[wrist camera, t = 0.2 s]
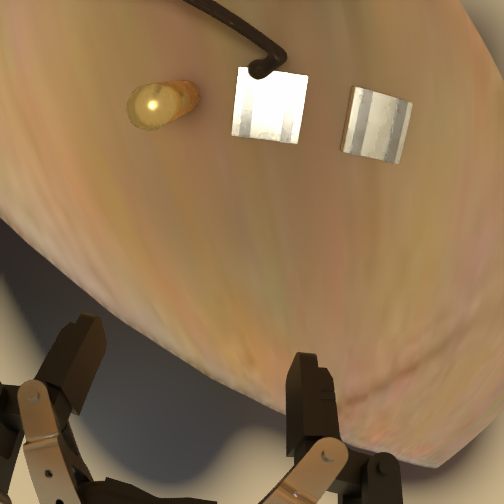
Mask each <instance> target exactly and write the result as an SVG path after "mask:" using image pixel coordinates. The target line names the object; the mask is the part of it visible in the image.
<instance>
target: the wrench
mask: <svg viewBox="0 0 504 504" xmlns="http://www.w3.org/2000/svg"><path fill="white" fill-rule="evenodd" d="M183 1H185V2H187V3H189V4H191V5H193V6H194V7H196V8H198V9H200V10H202V11H203V12H205V13H207V14H209V15H210V16H212V17H214V18H216V19H217V20H219V21H221V22H222V23H224V24H226V25H227V26H229V27H231V28H232V29H234V30H236V31H237V32H239V33H240V34H242V35H243V36H245V37H246V38H248V39H249V40H251V41H252V42H254V43H255V44H256V45H258V46H259V47H261V48H262V49H263V50H265V51H266V52H267V53H269V55H268V56H267V57H266V58H265V59H263V60H254V61H252V62H251V63H250V64H249V66H248V73H249V75H250V76H251V77H252V78H254V79H256V80H261V79H264V78H266V77H267V76H268V75H270V74H271V73H272V72H273V71H274V70H275V69H277V68H278V67H279V66H281V65H282V64H283V63H284V62H286V60H287V54H286V52H285V51H284V50H283V49H282V48H281V47H280V46H279V45H277V44H276V43H274V42H273V41H272V40H270V39H269V38H268V37H266V36H265V35H264V34H262V33H261V32H260V31H258V30H257V29H255V28H254V27H253V26H251V25H250V24H248V23H247V22H245V21H244V20H242V19H241V18H239V17H238V16H237V15H235V14H233V13H232V12H230V11H229V10H227V9H226V8H224V7H223V6H221V5H220V4H218V3H216V2H215V1H213V0H183Z"/></svg>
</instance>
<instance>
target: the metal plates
mask: <svg viewBox="0 0 504 504" xmlns="http://www.w3.org/2000/svg"><path fill="white" fill-rule="evenodd" d="M307 80H308V76H302V75H297V74H291V73H284V72H277V71H273V72H272V73H271V74H270V75H268V76H267V77H266V78H264V79H261V80H256V79H254V78H252V77H251V76H250V75H249V73H248V68H243V67H239V72H238V81H237V89H236V98H235V107H234V116H233V125H232V134H231V135H232V136H239V137H245V138H249V137H251V138H260V139H268V140H275V141H280V142H285V143H296V144H297V143H298V137H299V131H300V125H301V119H302V112H303V106H304V100H305V93H306V87H307ZM412 104H413V103H410V102H407V101H404V100H401V99H397V98H394V97H391V96H388V95H384V94H381V93H377V92H374V91H370V90H367V89H362V88H359V87H354V86H352V89H351V95H350V100H349V106H348V111H347V117H346V122H345V127H344V132H343V137H342V142H341V147H340V149H341V150H342V151H343V152H347V153H350V154H354V155H358V156H360V155H361V156H366V157H371V158H375V159H380V160H384V161H386V162H390V163H396V164H399V161H400V157H401V153H402V149H403V145H404V141H405V137H406V132H407V128H408V123H409V119H410V114H411V109H412Z"/></svg>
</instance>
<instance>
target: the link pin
mask: <svg viewBox="0 0 504 504" xmlns="http://www.w3.org/2000/svg"><path fill="white" fill-rule="evenodd" d="M199 97H200V95H199V91H198V89H197V87H196V86H195V85H194V84H193V83H191V82H189V81H173V82H162V83H153V84H145V85H142V86H140V87H138V88H137V89H135V90H134V91H133V92H132V94H131V95H130V97H129V99H128V102H127V115H128V117H129V120H130V121H131V123H132V124H133V125H134V126H136V127H137V128H139V129H141V130H146V131H151V130H156V129H158V128H160V127H162V126H164V125H165V124H167V123H169V122H171V121H173V120H175V119H176V118H178V117H180V116H182V115H184V114H186V113H188V112H190V111H191V110H193V109H194V108H195V107H196V106H197V104H198V102H199Z"/></svg>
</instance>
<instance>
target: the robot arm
mask: <svg viewBox="0 0 504 504" xmlns="http://www.w3.org/2000/svg"><path fill="white" fill-rule="evenodd" d="M105 351H106V337H105V334H104V330H103V326H102V322H101V319H100V317H98V316H94V315H90V314H86V313H82V314H81V315H80V316H79V318H78V320H77V322H76V323H72V322H70V323H69V324H68V325H66V326H65V327H64V328H63V329H62V330H61V331H60V333H59V335H58V336H57V338H56V341H55V342H54V343H53V345H52V348H51V349H50V351H49V352H48V354H47V356H46V358H45V360H44V362H43V364H42V365H41V367H40V369H39V371H38V373H37V375H36V376H35V378H34V379H33V380H28V381H26V382H24V383H23V384H22V385H21V386H15V385H3V384H1V382H0V504H12V502H11V499H10V497H9V496H8V495H7V494H8V490H9V485H10V482H11V478H12V474H13V471H14V467H15V463H16V460H17V457H18V453H19V450H20V447H21V444H22V441H23V438H24V435H25V437H26V443H25V444H24V445H23V450H24V455H25V459H26V462H27V465H28V469H29V472H30V476H31V479H32V482H33V485H34V488H35V491H36V494H37V496H38V499H39V502H40V504H217V502H216V501H208V500H201V499H195V498H158V497H155V496H153V495H151V494H149V493H147V492H145V491H143V490H141V489H139V488H137V487H135V486H133V485H131V484H128V483H124V482H121V481H118V480H114V479H111V478H108V477H106V479H105V481H94V480H93V478H92V476H91V473H90V471H89V469H88V468H87V466H86V464H85V463H84V461H83V459H82V457H81V454H80V452H79V449H78V447H77V444H76V441H75V438H74V435H73V432H72V429H71V426H70V423H69V420H68V419H69V416H70V413H73V414H75V415H78V416H79V415H80V412H81V409H82V407H83V404H84V402H85V399H86V397H87V394H88V392H89V389H90V387H91V384H92V382H93V380H94V377H95V375H96V372H97V370H98V367H99V365H100V363H101V360H102V358H103V356H104V354H105ZM335 400H336V398H335V393H334V383H333V378H332V376H331V375H330V373H329V371H328V369H327V368H320V367H318V361H317V355H316V354H312V353H301V352H297V353H296V355H295V358H294V360H293V362H292V365H291V367H290V369H289V371H288V374H287V378H286V456H287V457H294V466H293V467H292V468H291V469H290V470H289V472H288V473H287V474H286V475H285V476H284V477H283V478H282V479H281V481H280V482H279V483H278V484H277V485H276V486H275V487H274V488H273V489H272V490H271V491H270V492H269V493H268V494H267V495H266V496H265V497H264V498H263V499H262V500H261V501H260V502H259V503H258V504H316V503H317V502H318V500H319V499H320V498H321V496H322V495H323V494H324V493H325V491H330V492H334V493H337V494H338V504H403V498H402V485H401V474H400V465H399V462H398V460H397V459H396V458H395V457H394V456H393V455H392V454H390V453H386V452H380V453H377V454H375V455H374V456H370V455H367V454H363V453H359V452H355V451H353V450H351V449H349V448H348V447H347V446H346V445H345V444H344V443H343V441H342V440H341V437H340V432H339V423H338V415H337V406H336V402H335Z"/></svg>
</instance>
